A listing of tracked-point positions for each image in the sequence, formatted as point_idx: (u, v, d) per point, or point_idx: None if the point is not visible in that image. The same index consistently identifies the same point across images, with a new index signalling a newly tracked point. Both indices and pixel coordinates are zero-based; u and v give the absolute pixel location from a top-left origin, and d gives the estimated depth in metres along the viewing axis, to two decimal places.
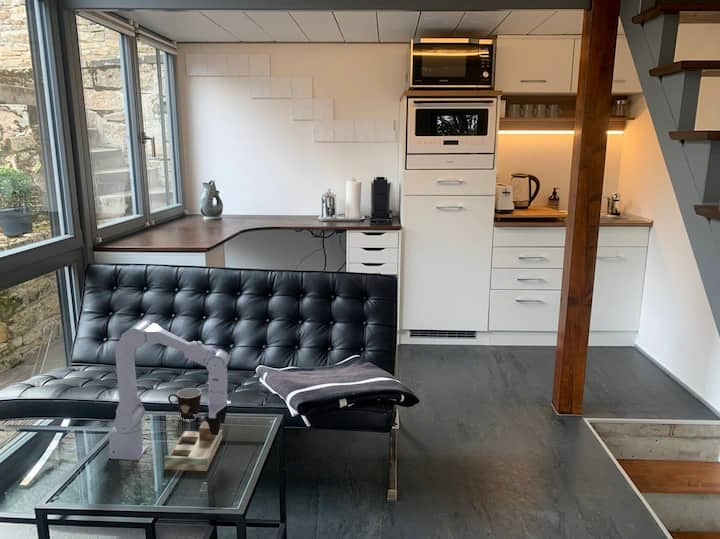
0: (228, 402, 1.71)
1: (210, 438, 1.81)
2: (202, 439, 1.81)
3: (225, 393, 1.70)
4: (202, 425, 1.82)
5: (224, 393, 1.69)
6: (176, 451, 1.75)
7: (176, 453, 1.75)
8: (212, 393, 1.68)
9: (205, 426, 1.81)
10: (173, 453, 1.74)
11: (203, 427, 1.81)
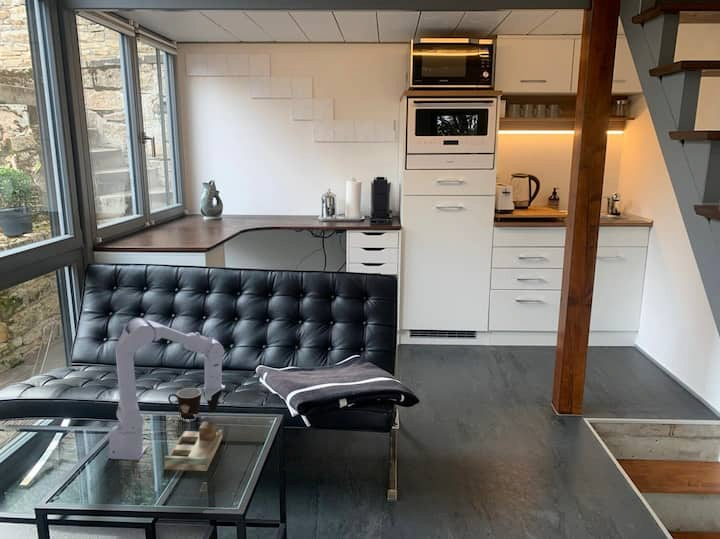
0: (222, 386, 1.87)
1: (210, 438, 1.81)
2: (202, 439, 1.81)
3: (220, 378, 1.85)
4: (202, 425, 1.82)
5: (219, 378, 1.85)
6: (176, 451, 1.75)
7: (176, 453, 1.75)
8: (208, 378, 1.83)
9: (205, 426, 1.81)
10: (173, 453, 1.74)
11: (203, 427, 1.81)
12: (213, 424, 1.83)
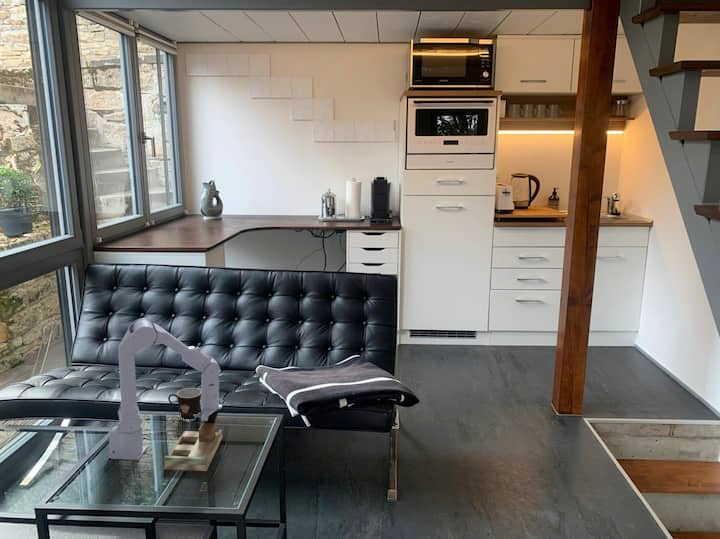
0: (219, 406, 1.84)
1: (210, 439, 1.80)
2: (201, 440, 1.80)
3: (217, 397, 1.82)
4: (201, 426, 1.81)
5: (216, 397, 1.82)
6: (176, 451, 1.75)
7: (176, 453, 1.75)
8: (204, 397, 1.80)
9: (204, 427, 1.80)
10: (173, 453, 1.74)
11: (203, 428, 1.80)
12: (212, 425, 1.82)
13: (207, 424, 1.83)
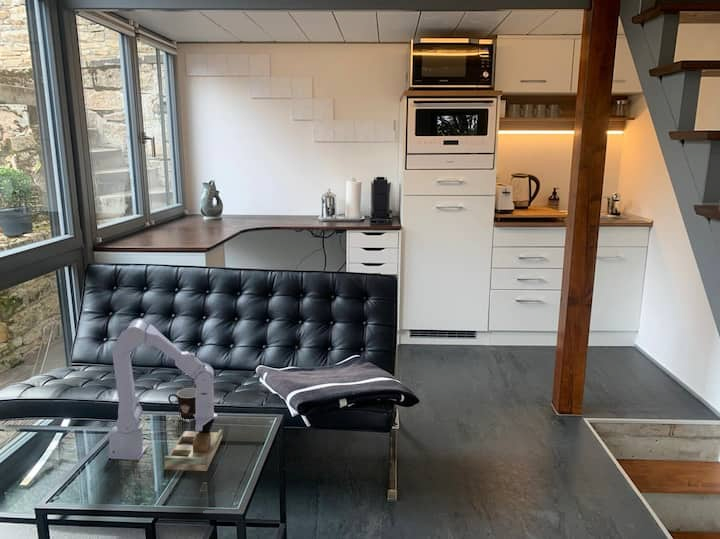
0: (214, 415, 1.77)
1: (204, 450, 1.73)
2: (196, 451, 1.73)
3: (211, 406, 1.76)
4: (196, 436, 1.74)
5: (210, 406, 1.75)
6: (176, 451, 1.75)
7: (176, 453, 1.75)
8: (199, 406, 1.74)
9: (199, 438, 1.74)
10: (173, 453, 1.74)
11: (197, 438, 1.73)
12: (207, 435, 1.75)
13: (202, 434, 1.76)
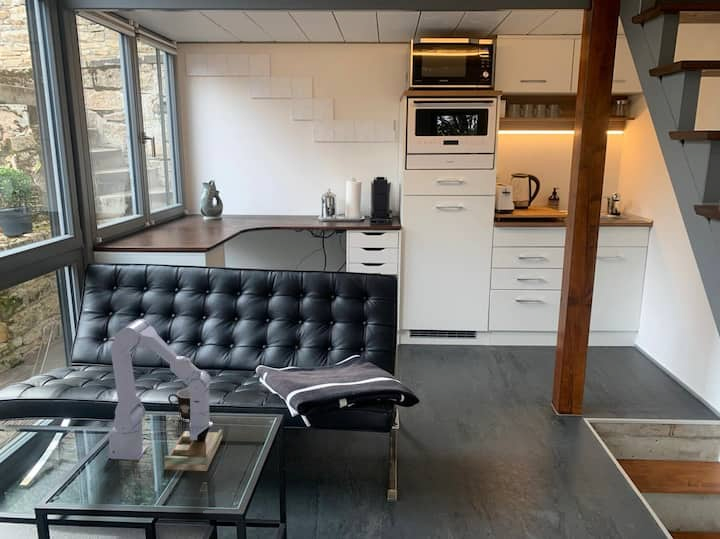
0: (210, 423, 1.72)
1: None
2: None
3: (207, 414, 1.70)
4: (191, 446, 1.69)
5: (206, 414, 1.70)
6: (176, 451, 1.75)
7: (176, 453, 1.75)
8: (194, 415, 1.68)
9: (194, 447, 1.68)
10: (173, 453, 1.74)
11: (192, 448, 1.68)
12: (203, 444, 1.70)
13: (197, 443, 1.70)
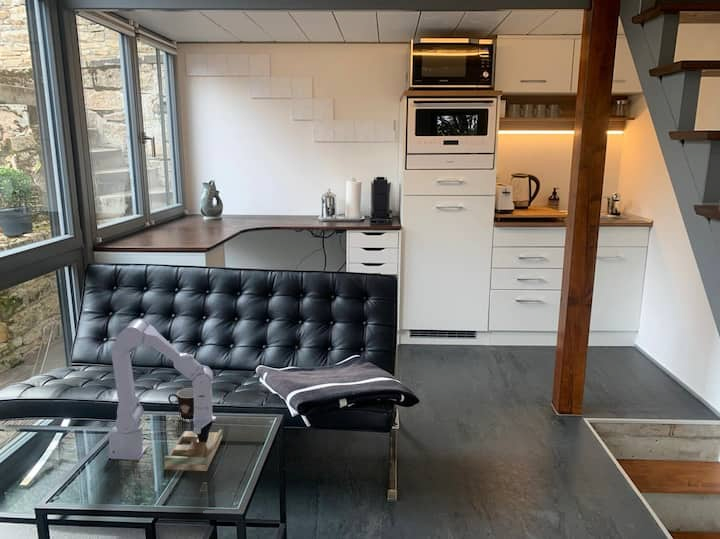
0: (213, 417, 1.76)
1: None
2: None
3: (210, 409, 1.74)
4: (191, 446, 1.69)
5: (209, 409, 1.73)
6: (176, 451, 1.75)
7: (176, 453, 1.75)
8: (197, 409, 1.72)
9: (194, 447, 1.68)
10: (173, 453, 1.74)
11: (192, 448, 1.68)
12: (203, 444, 1.70)
13: (197, 443, 1.70)
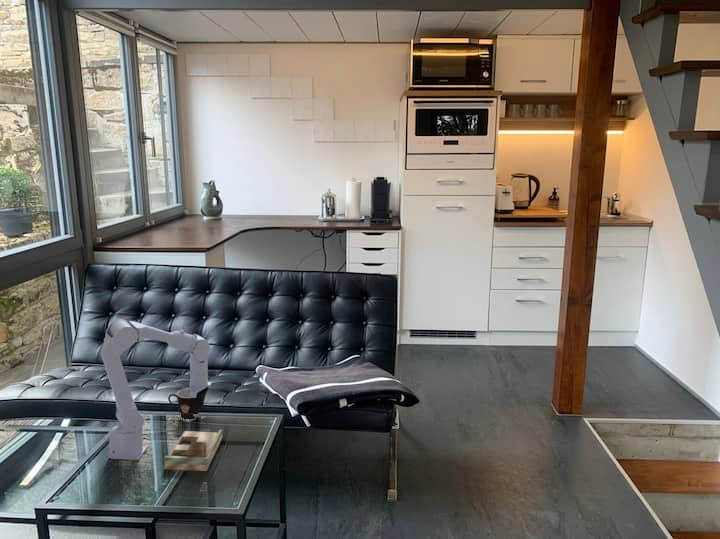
0: (208, 383, 1.84)
1: None
2: None
3: (205, 375, 1.83)
4: (191, 446, 1.69)
5: (204, 375, 1.82)
6: (176, 451, 1.75)
7: (176, 453, 1.75)
8: (193, 375, 1.81)
9: (194, 447, 1.68)
10: (173, 453, 1.74)
11: (192, 448, 1.68)
12: (203, 444, 1.70)
13: (197, 443, 1.70)
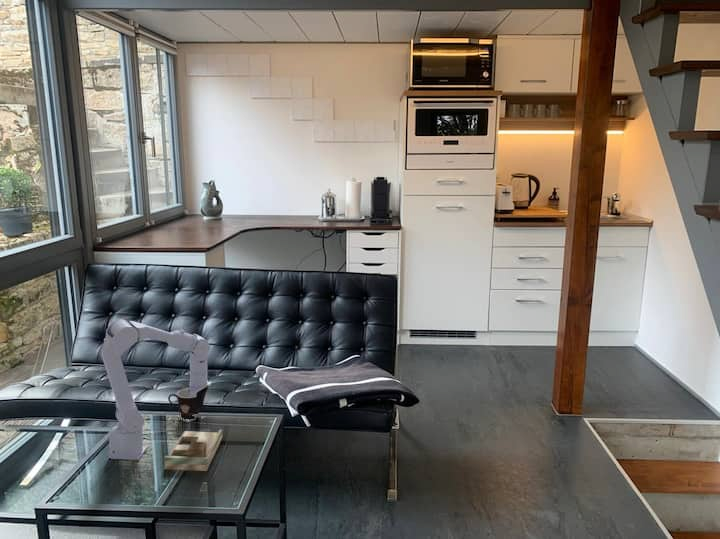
0: (208, 383, 1.85)
1: None
2: None
3: (205, 374, 1.83)
4: (191, 446, 1.69)
5: (204, 374, 1.83)
6: (176, 451, 1.75)
7: (176, 453, 1.75)
8: (193, 374, 1.81)
9: (194, 447, 1.68)
10: (173, 453, 1.74)
11: (192, 448, 1.68)
12: (203, 444, 1.70)
13: (197, 443, 1.70)
